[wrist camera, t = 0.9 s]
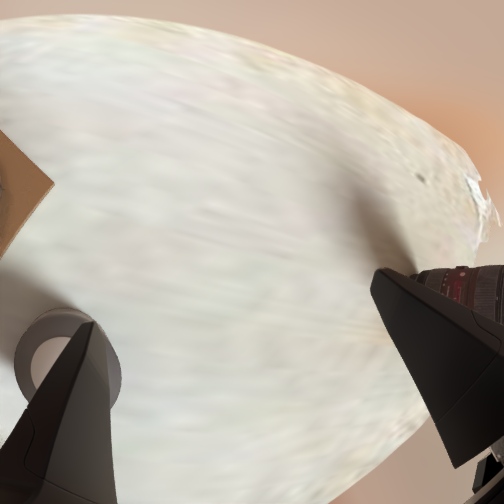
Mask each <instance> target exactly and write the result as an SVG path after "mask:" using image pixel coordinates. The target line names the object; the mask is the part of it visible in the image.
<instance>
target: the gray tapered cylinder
mask: <svg viewBox="0 0 504 504" xmlns="http://www.w3.org/2000/svg"><path fill="white" fill-rule="evenodd" d="M86 321H95V320H94V319H92V318H91V317H90V316H88V315H87V314H85V313H83V312H81V311H78V310H75V309H69V308H58V309H53V310H50V311H48V312H45V313H44V314H42V315H41V316H39V317H38V318H37V319H36V320H35V321H34V322H33V324H32V325H31V326H30V327H29V328H28V330H27V331H26V332H25V333H24V334H23V336H22V338H21V339H20V341H19V343H18V345H17V348H16V352H15V358H14V370H15V376H16V380H17V383H18V385H19V388H20V390H21V392H22V394H23V395H24V397H25V398H26V400H27V401H28V402H30V401H31V399H32V397H33V396H34V394H35V392H36V391H37V389H38V387H39V386H40V384H41V383H42V381H43V379H44V378H45V376H46V375H47V373H48V372H49V370H50V369H51V367H52V366H53V364H54V362H55V361H56V359H57V358H58V356H59V355H60V353H61V352H62V351H63V349H64V348H65V346H66V345H67V343H68V342H69V340H70V339H71V337H72V336H73V335H74V333H75V332H76V330H77V329H78V328H79V326H80V325H81V324H82V323H83V322H86ZM95 322H96V321H95ZM96 323H97V322H96ZM97 324H98V323H97ZM98 326H99V328H100V330H101V332H102V334H103V336H104V338H105V342H106V349H107V363H108V374H109V384H110V409H111V408H112V406H113V405H114V404H115V402H116V400H117V398H118V395H119V392H120V388H121V379H122V377H121V368H120V363H119V360H118V357H117V355H116V353H115V351H114V349H113V347H112V345H111V343H110V341H109V339H108V337H107V335H106V334H105V332H104V330H103V329H102V328H101V326H100V325H99V324H98Z"/></svg>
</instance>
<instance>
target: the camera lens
mask: <svg viewBox="0 0 504 504" xmlns="http://www.w3.org/2000/svg"><path fill="white" fill-rule="evenodd" d="M409 278H410V279H412V280H414V281H416V282H418V283H420V284H422V285H424V286H426V287H429V288H431V289H433V290H435V291H437V292H439V293H441V294H443V295H444V296H446V297H448V298H450V299H452V300H454V301H456V302H458V303H460V304H462V305H464V306H466V307H468V308H469V309H472V310H474V311H476V312H477V313H479V314H481V315H483V316H485V317H487V318H489V319H491V320H494V321H496V322H498V323H500V324H502V325H504V265H489V266H481V267H476V268H469V267H468V266H456V268H455V269H450V268H439V269H432V270H425V271H422V272H421V273H419V274H413V275H411V276H410V277H409Z"/></svg>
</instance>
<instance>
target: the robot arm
mask: <svg viewBox="0 0 504 504" xmlns="http://www.w3.org/2000/svg"><path fill="white" fill-rule="evenodd" d="M370 292H371V296H372V298H373V300H374V302H375V304H376V307H377V309H378V311H379V313H380V316H381V318H382V320H383V323H384V325H385V327H386V329H387V331H388V333H389V335H390V337H391V339H392V340H393V342H394V344H395V346H396V348H397V350H398V352H399V353H400V355H401V357H402V359H403V361H404V363H405V365H406V367H407V369H408V370H409V372H410V374H411V376H412V378H413V380H414V382H415V384H416V386H417V388H418V390H419V392H420V394H421V396H422V398H423V400H424V402H425V404H426V406H427V408H428V411H429V413H430V415H431V417H432V419H433V421H434V423H435V426H436V428H437V430H438V432H439V434H440V436H441V439H442V441H443V443H444V446H445V448H446V450H447V453H448V455H449V458H450V460H451V462H452V465H453V467H454V468H455V469H456V468H458V467H459V466H461V465H463V464H464V463H466V462H467V461H469V460H470V459H472V458H474V457H475V456H477V455H478V454H479V453H481V452H482V451H484V450H485V449H487V448H488V447H489V449H490V451H491V452H489V453H488V454H487V455H486V456H485V457H484V458H483V459H482V460H480V461H479V462H478V465H477V470H476V475H475V479H474V484H473V488H472V490H473V492H474V494H475V495H473V496H472V497H471V498H470V499H469V500H467V501H466V502H465V503H464V504H504V325H502V324H500V323H498V322H496V321H494V320H491V319H489V318H487V317H485V316H483V315H481V314H479V313H477V312H476V311H474V310H472V309H469V308H468V307H466V306H464V305H462V304H460V303H458V302H456V301H454V300H452V299H450V298H448V297H446V296H444V295H443V294H441V293H439V292H437V291H435V290H433V289H431V288H429V287H426V286H424V285H422V284H420V283H418V282H416V281H414V280H412V279H410V278H408V277H406V276H404V275H402V274H400V273H398V272H396V271H394V270H392V269H389V268H387V267H384V268H380V269H377V270H376V271H375V273H374V276H373V280H372V283H371V287H370ZM0 504H117V497H116V489H115V480H114V470H113V458H112V444H111V420H110V384H109V374H108V363H107V349H106V342H105V338H104V336H103V334H102V332H101V330H100V328H99V326H98V324H97V323H96V322H95V321H86V322H83V323H82V324H81V325H80V326H79V328H78V329H77V330H76V332H75V333H74V335H73V336H72V337H71V339H70V340H69V342H68V343H67V345H66V346H65V348H64V349H63V351H62V352H61V353H60V355H59V356H58V358H57V359H56V361H55V362H54V364H53V366H52V367H51V369H50V370H49V372H48V373H47V375H46V376H45V378H44V379H43V381H42V383H41V384H40V386H39V387H38V389H37V391H36V392H35V394H34V396H33V397H32V399H31V401H30V402H29V404H28V406H27V408H26V409H25V410H24V412H23V414H22V416H21V417H20V419H19V421H18V422H17V424H16V426H15V427H14V429H13V431H12V432H11V434H10V435H9V437H8V438H7V440H6V441H5V443H4V444H3V446H2V447H1V449H0Z"/></svg>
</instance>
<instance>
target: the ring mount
mask: <svg viewBox="0 0 504 504" xmlns="http://www.w3.org/2000/svg"><path fill="white" fill-rule="evenodd" d="M54 185H55V184H54V182H53V181H52V180H51V179H50V178H49V177H48V176H47V175H46V174H45V173H43V172H42V171H41V170H40V169H39V168H38V167H37V166H36V165H35V164H34V163H33V162H32V161H31V160H30V159H29V158H28V157H27V156H26V155H25V154H24V153H23V152H22V151H21V150H20V149H19V148H18V147H17V146H16V145H15V144H14V143H13V142H12V141H11V140H10V139H9V138H8V137H7V136H6V135H5V134H4V133H3V132H2V131H1V130H0V259H1V258H2V256H3V255H4V253H5V252H6V250H7V249H8V247H9V245H10V244H11V242H12V241H13V240H14V238H15V237H16V235H17V234H18V232H19V231H20V229H21V228H22V227H23V225H24V224H25V222H26V221H27V220H28V218H29V217H30V216H31V214H32V213H33V212H34V210H35V209H36V208H37V206H38V205H39V204H40V203H41V201H42V200H43V199H44V197H45V196H46V195H47V194H48V193H49V191H50V190H51V189H52V188H53V186H54Z"/></svg>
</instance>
